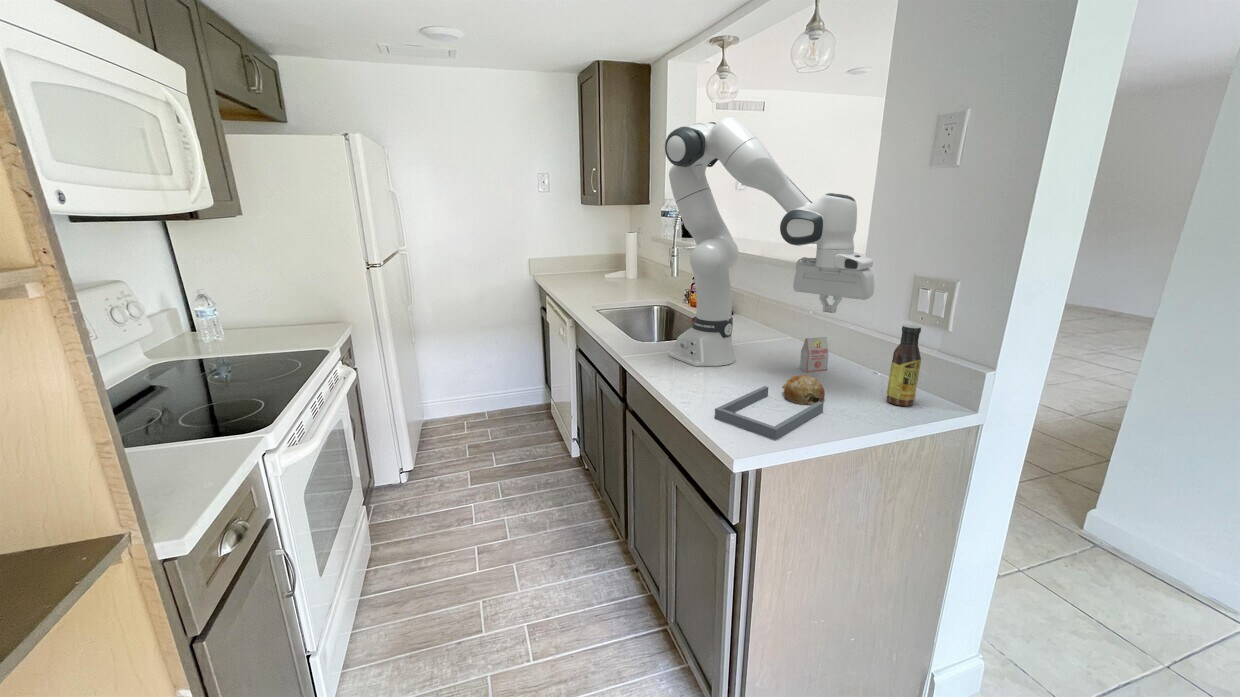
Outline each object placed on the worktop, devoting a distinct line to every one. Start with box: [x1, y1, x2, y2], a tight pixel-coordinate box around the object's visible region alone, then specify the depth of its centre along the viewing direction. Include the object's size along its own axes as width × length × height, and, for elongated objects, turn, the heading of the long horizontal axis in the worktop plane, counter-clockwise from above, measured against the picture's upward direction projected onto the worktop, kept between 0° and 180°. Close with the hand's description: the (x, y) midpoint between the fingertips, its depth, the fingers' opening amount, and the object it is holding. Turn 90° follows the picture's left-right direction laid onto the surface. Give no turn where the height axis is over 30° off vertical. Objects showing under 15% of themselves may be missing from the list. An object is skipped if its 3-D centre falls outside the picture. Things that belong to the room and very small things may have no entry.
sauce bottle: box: [886, 324, 922, 407], centre depth 126 cm, size 7×6×20 cm
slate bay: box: [714, 385, 825, 441], centre depth 123 cm, size 16×21×2 cm
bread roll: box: [781, 374, 826, 406], centre depth 132 cm, size 10×10×8 cm
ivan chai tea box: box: [799, 336, 830, 373], centre depth 153 cm, size 4×7×10 cm, turn 100°
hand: (829, 312), depth 134 cm, fingers closed
